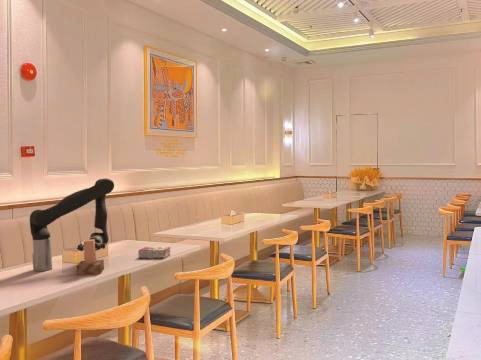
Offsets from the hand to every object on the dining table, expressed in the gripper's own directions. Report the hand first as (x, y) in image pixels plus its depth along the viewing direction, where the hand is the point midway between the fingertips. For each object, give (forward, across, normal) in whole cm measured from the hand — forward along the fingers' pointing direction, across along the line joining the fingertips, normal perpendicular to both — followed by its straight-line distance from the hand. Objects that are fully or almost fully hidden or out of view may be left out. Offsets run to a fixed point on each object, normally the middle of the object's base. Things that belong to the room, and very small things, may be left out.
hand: (89, 248), depth 266 cm
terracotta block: (0, 0, +8) cm, 8 cm away
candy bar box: (-33, +24, +10) cm, 42 cm away
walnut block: (0, 0, +12) cm, 13 cm away
